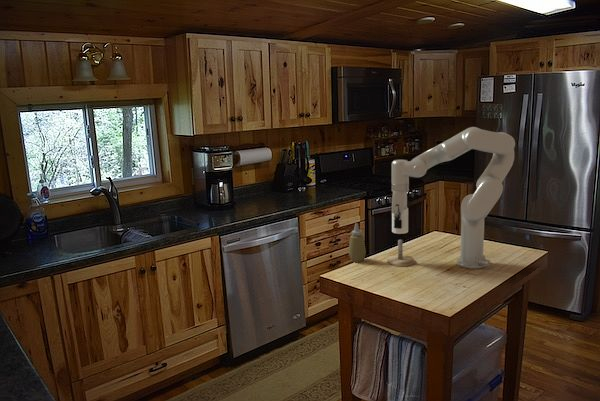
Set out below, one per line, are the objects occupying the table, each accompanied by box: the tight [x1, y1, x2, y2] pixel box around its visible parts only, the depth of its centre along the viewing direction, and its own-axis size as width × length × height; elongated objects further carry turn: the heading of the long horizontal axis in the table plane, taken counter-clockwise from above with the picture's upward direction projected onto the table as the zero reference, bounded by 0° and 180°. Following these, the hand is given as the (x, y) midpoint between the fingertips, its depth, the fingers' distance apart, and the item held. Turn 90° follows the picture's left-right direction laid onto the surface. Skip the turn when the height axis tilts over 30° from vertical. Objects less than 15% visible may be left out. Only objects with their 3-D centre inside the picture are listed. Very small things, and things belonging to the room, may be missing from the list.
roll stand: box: [386, 239, 415, 268], centre depth 220 cm, size 12×12×10 cm
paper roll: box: [391, 206, 409, 235], centre depth 217 cm, size 7×7×11 cm
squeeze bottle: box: [348, 222, 367, 263], centre depth 225 cm, size 8×8×18 cm
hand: (400, 225), depth 218 cm, fingers closed on paper roll, 7 cm apart
